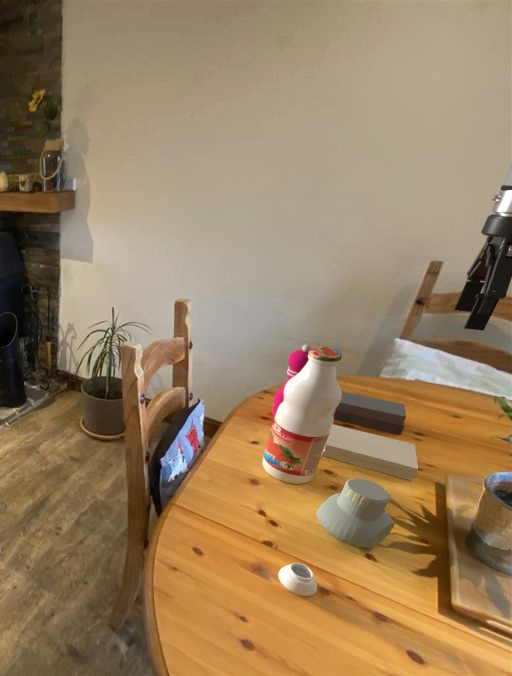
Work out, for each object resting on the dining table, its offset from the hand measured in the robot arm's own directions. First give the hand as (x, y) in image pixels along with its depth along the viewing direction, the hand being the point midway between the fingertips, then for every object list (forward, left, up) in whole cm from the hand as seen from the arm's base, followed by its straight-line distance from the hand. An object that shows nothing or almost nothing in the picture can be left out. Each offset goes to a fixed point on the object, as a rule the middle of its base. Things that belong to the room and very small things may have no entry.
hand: (467, 319), depth 89 cm
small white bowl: (+18, +67, -27) cm, 75 cm away
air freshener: (+12, +50, -27) cm, 58 cm away
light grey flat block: (+10, +23, -26) cm, 37 cm away
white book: (+10, +23, -24) cm, 35 cm away
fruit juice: (+23, +37, -27) cm, 51 cm away
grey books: (+10, +5, -26) cm, 29 cm away
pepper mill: (+26, +13, -27) cm, 39 cm away
